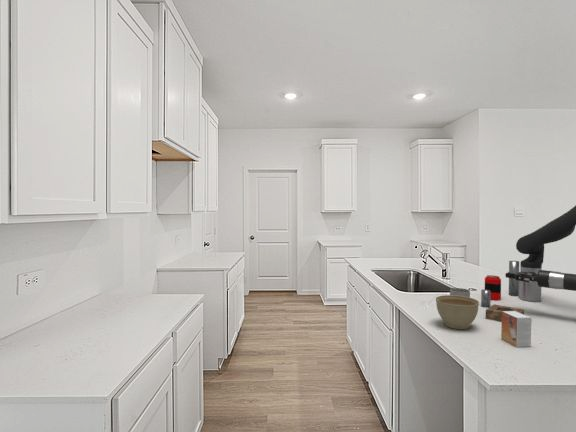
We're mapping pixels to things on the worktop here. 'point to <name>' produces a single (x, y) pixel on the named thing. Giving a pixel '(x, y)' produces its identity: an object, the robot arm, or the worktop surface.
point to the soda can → (493, 286)
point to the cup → (460, 292)
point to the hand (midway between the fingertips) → (507, 274)
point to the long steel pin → (512, 282)
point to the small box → (516, 328)
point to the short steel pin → (485, 298)
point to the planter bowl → (457, 310)
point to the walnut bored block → (499, 312)
